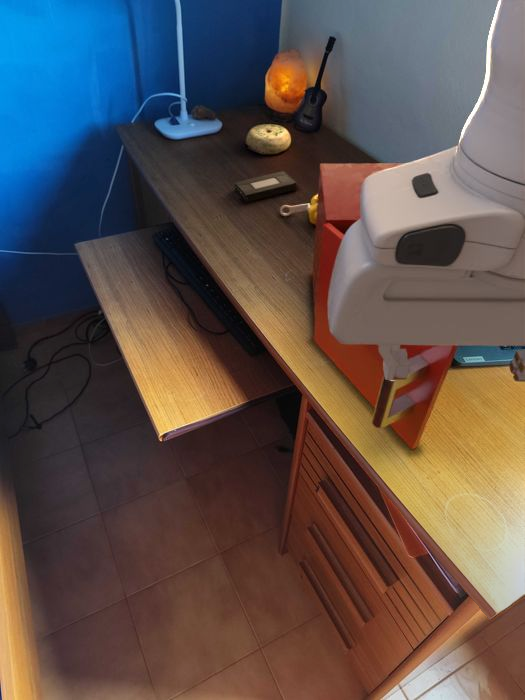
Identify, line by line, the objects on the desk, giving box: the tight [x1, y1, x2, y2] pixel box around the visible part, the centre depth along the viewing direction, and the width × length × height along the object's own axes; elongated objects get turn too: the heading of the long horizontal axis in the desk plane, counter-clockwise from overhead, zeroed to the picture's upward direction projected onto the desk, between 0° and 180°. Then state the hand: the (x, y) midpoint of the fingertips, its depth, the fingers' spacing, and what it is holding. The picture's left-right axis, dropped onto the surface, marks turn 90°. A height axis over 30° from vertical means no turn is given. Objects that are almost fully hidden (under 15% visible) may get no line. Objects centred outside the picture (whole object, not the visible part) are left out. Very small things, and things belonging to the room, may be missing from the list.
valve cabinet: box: [311, 163, 404, 323], centre depth 81 cm, size 18×26×24 cm
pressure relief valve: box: [279, 194, 318, 226], centre depth 110 cm, size 6×12×10 cm
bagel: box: [245, 123, 292, 156], centre depth 139 cm, size 14×13×5 cm
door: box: [313, 223, 459, 450], centre depth 66 cm, size 7×26×24 cm, turn 29°
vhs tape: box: [234, 170, 297, 203], centre depth 122 cm, size 8×14×2 cm, turn 115°
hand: (457, 374), depth 35 cm, fingers open, 8 cm apart
